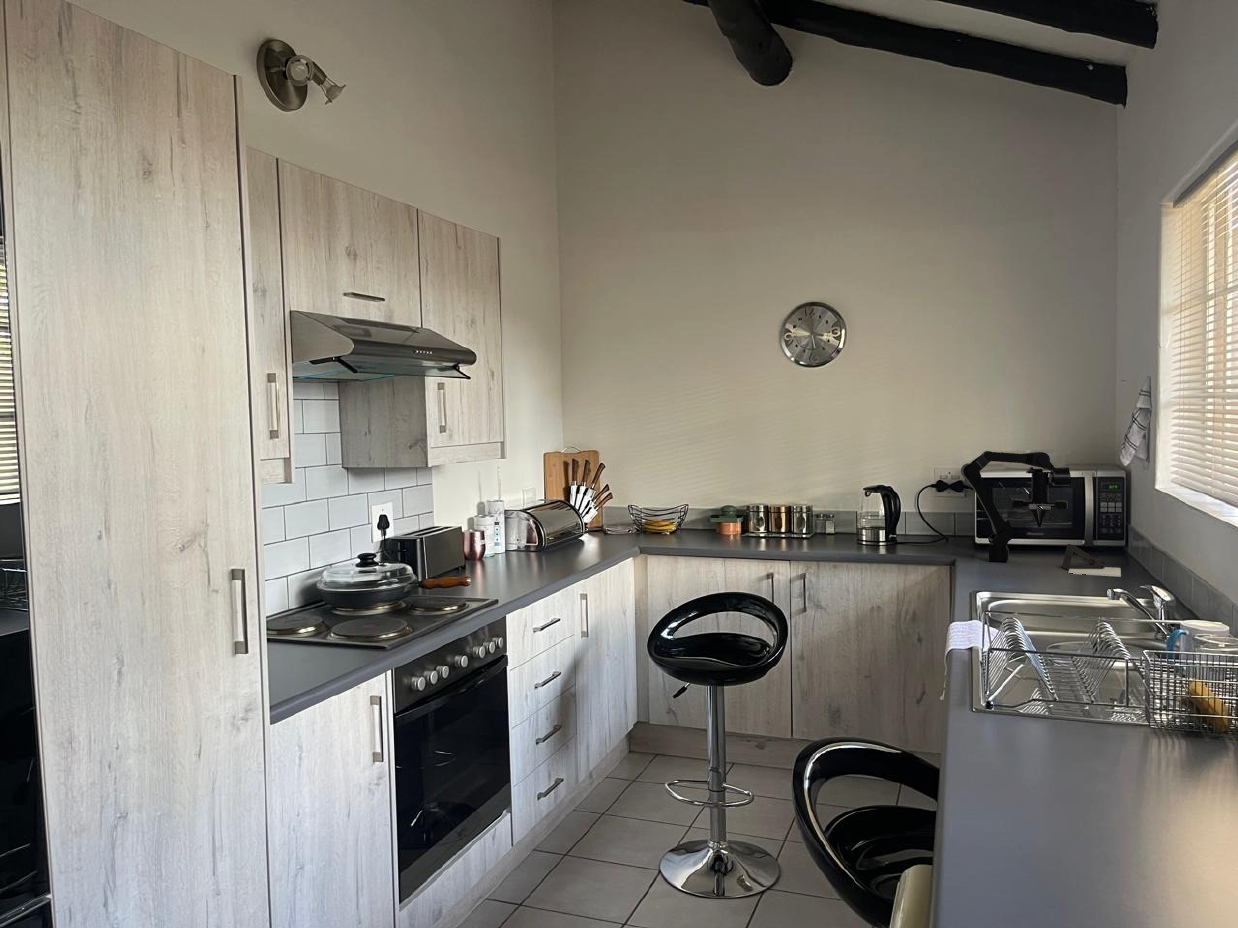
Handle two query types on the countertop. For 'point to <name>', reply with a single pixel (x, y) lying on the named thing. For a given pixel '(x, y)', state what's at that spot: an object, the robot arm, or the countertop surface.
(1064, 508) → the robot arm
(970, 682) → the countertop surface
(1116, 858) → the countertop surface
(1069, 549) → the phone stand
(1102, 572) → the mat
